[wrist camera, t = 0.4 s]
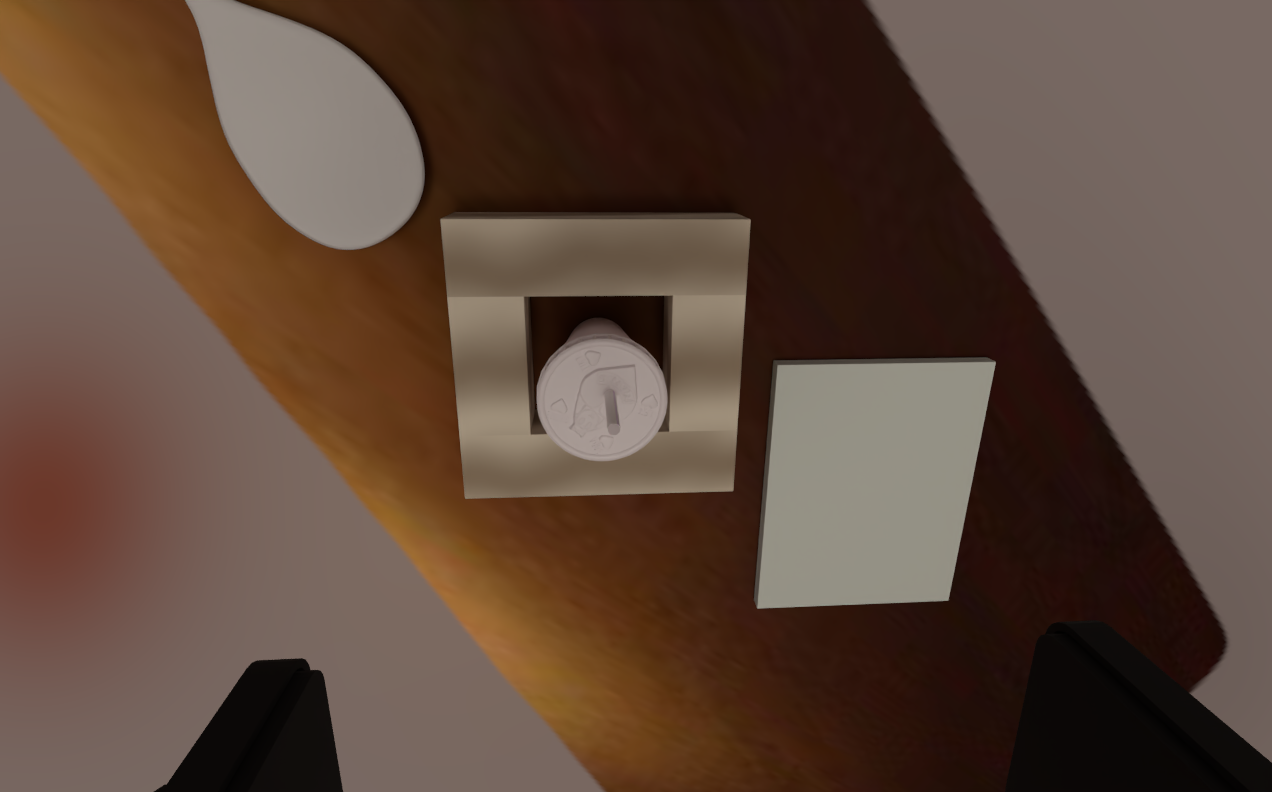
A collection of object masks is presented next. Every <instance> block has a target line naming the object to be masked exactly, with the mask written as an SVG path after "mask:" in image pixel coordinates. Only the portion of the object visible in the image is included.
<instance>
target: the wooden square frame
mask: <svg viewBox="0 0 1272 792" xmlns="http://www.w3.org/2000/svg"><path fill="white" fill-rule="evenodd" d="M440 220H441V232H442V243H443V254H444V266H445V277H446V288H447V299H448V311H449V322H450V333H451V345H452V356H453V367H454V379H455V390H456V401H457V413H458V424H459V435H460V447H461V458H462V469H463V480H464V492H465V499H470V498H506V497H541V496H576V495H611V494H647V493H682V492H717V491H733V486H734V471H735V455H736V440H737V424H738V409H739V393H740V378H741V362H742V347H743V331H744V316H745V300H746V285H747V270H748V254H749V239H750V223H751V219H748V218H746V217H744V216H741V215H739V214H737V213H651V212H454V213H452V214H450V215H448V216H446V217H444V218H442V219H440ZM530 296H664V329H663V374H664V379H665V384H666V389H667V409H666V414H665V417H664V420H663V423H662V425H661V427H660V429H659V430H658V432H657V433H656V435H655V436H654V437H653V438H652V440H651V441H650V442H649V443H648V444H646V445H645V446H644V447H643V448H641V449H640V450H638V451H637V452H635V453H633V454H631V455H629V456H627V457H624V458H621V459H617V460H611V461H592V460H586V459H582V458H579V457H576V456H574V455H572V454H570V453H568V452H566V451H565V450H563V449H562V448H560V447H559V446H558V445H557V444H556V443H555V442H554V441H553V440H552V439H551V438H550V437H549V436H548V434H547V433H546V431H545V429H544V428H543V426H542V423H541V421H540V418H539V415H538V410H537V409H535V397H534V375H533V353H532V332H531V310H530Z"/></svg>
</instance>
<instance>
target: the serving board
mask: <svg viewBox="0 0 1272 792" xmlns="http://www.w3.org/2000/svg"><path fill="white" fill-rule="evenodd" d="M995 364H996V362H995V361H993V360H991V359H989V358H987V357H977V358H907V359H837V360H773V371H772V384H771V396H770V408H769V421H768V433H767V445H766V457H765V470H764V482H763V494H762V507H761V519H760V531H759V543H758V556H757V568H756V580H755V593H754V601H755V604H756V606H757V608H780V607H804V606H828V605H853V604H877V603H901V602H925V601H948V599H949V594H950V589H951V584H952V579H953V574H954V569H955V564H956V559H957V554H958V549H959V544H960V539H961V534H962V529H963V524H964V519H965V514H966V509H967V504H968V499H969V494H970V489H971V484H972V479H973V474H974V469H975V464H976V459H977V454H978V449H979V444H980V439H981V434H982V429H983V424H984V419H985V414H986V409H987V404H988V399H989V394H990V389H991V384H992V379H993V374H994V369H995Z"/></svg>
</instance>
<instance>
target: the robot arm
mask: <svg viewBox="0 0 1272 792" xmlns="http://www.w3.org/2000/svg"><path fill="white" fill-rule="evenodd" d="M154 792H343V790H342V783H341V777H340V771H339V765H338V759H337V753H336V747H335V741H334V735H333V729H332V723H331V717H330V711H329V704H328V699H327V692H326V687H325V680H324V676H323V674H322V672H321V671H319V670H310V667H309V664H308V663H307V661H306V660H305V659H302V658H301V659H280V660H259V661H255V662H253V663H251V664H250V666H249V667H248V668H247V669H246V670H245V672H244V673H243V675H242V676H241V678H240V679H239V680H238V682H237V683H236V685H235V686H234V688H233V689H232V691H231V692H230V694H229V695H228V697H227V698H226V699H225V701H224V702H223V704H222V705H221V707H220V708H219V709H218V711H217V712H216V714H215V715H214V717H213V718H212V720H211V721H210V723H209V724H208V726H207V727H206V728H205V730H204V731H203V733H202V734H201V736H200V737H199V739H198V740H197V741H196V743H195V744H194V746H193V747H192V749H191V750H190V752H189V753H188V754H187V756H186V757H185V759H184V760H183V762H182V763H181V765H180V766H179V767H178V769H177V770H176V772H175V773H174V775H173V776H172V778H171V779H170V780H169V782H168V783H167V785H163V786H162V787H160V788H159V789H157V790H156V791H154ZM1005 792H1272V763H1271V762H1270V761H1269V760H1268V759H1267V758H1265V757H1264V756H1263V755H1262V754H1261V753H1259V752H1258V751H1257V750H1256V749H1255V748H1253V747H1252V746H1251V745H1250V744H1249V743H1247V742H1246V741H1245V740H1244V739H1243V738H1242V737H1240V736H1239V735H1238V734H1237V733H1236V732H1235V731H1233V730H1232V729H1231V728H1230V727H1229V726H1227V725H1226V724H1225V723H1224V722H1223V721H1221V720H1220V719H1219V718H1218V717H1217V716H1215V715H1214V714H1213V713H1212V712H1211V711H1210V710H1208V709H1207V708H1206V707H1204V705H1202V704H1201V703H1200V702H1199V701H1198V700H1197V699H1195V698H1194V697H1193V696H1192V695H1191V694H1189V693H1188V692H1187V691H1186V690H1185V689H1184V688H1182V687H1181V686H1180V685H1179V684H1178V683H1176V682H1175V681H1174V680H1173V679H1172V678H1170V677H1169V676H1168V675H1167V674H1166V673H1165V672H1163V671H1162V670H1161V669H1160V668H1159V667H1157V666H1156V665H1155V664H1154V663H1153V662H1151V661H1150V660H1149V659H1148V658H1147V657H1146V656H1144V655H1143V654H1142V653H1141V652H1140V651H1138V650H1137V649H1136V648H1135V647H1134V646H1132V645H1131V644H1130V643H1129V642H1128V641H1127V640H1125V639H1124V638H1123V637H1122V636H1121V635H1119V634H1118V633H1117V632H1116V631H1115V630H1113V629H1112V628H1111V627H1110V626H1108V625H1107V624H1105V623H1103V622H1100V621H1096V620H1094V621H1073V622H1057V623H1053V624H1051V625H1050V626H1049V628H1048V629H1047V631H1046V634H1045V635H1041V636H1040V637H1039V638H1038V640H1037V643H1036V647H1035V651H1034V656H1033V661H1032V665H1031V670H1030V675H1029V680H1028V684H1027V689H1026V694H1025V698H1024V703H1023V708H1022V713H1021V717H1020V722H1019V727H1018V731H1017V736H1016V741H1015V746H1014V750H1013V755H1012V760H1011V764H1010V769H1009V774H1008V779H1007V783H1006V791H1005Z"/></svg>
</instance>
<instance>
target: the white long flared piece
mask: <svg viewBox="0 0 1272 792" xmlns="http://www.w3.org/2000/svg"><path fill="white" fill-rule="evenodd" d="M185 1H186V3H187V5H188V6H189V8H190V10H191V12H192V14H193V16H194V18H195V21H196V24H197V26H198V29H199V32H200V36H201V39H202V43H203V47H204V52H205V57H206V62H207V67H208V72H209V77H210V82H211V87H212V92H213V96H214V100H215V105H216V109H217V113H218V116H219V120H220V123H221V126H222V129H223V132H224V134H225V137H226V139H227V141H228V144H229V146H230V148H231V150H232V152H233V153H234V155H235V157H236V159H237V160H238V162H239V164H240V165H241V167H242V169H243V170H244V172H245V173H246V175H247V176H248V178H249V179H250V181H251V182H252V184H253V185H254V186H255V188H256V189H257V191H258V192H259V193H260V195H261V196H262V197H263V199H264V200H265V201H266V202H267V204H268V205H269V206H270V207H271V208H272V209H273V210H274V211H275V212H276V213H277V214H278V215H279V216H280V217H281V218H282V219H283V220H284V221H285V222H286V223H287V224H289V225H290V226H291V227H293V228H294V229H295V230H297V231H298V232H300V233H301V234H303V235H304V236H306V237H308V238H310V239H311V240H313V241H315V242H317V243H320V244H322V245H325V246H327V247H331V248H335V249H341V250H355V249H362V248H366V247H370V246H372V245H375V244H377V243H379V242H381V241H383V240H385V239H387V238H388V237H390V236H391V235H393V234H394V233H395V232H396V231H398V230H399V229H400V228H401V227H402V226H403V225H404V224H405V223H406V222H407V221H408V220H409V218H410V217H411V216H412V215H413V213H414V211H415V210H416V208H417V206H418V204H419V201H420V199H421V196H422V193H423V188H424V180H425V169H424V160H423V155H422V150H421V146H420V143H419V139H418V136H417V134H416V131H415V128H414V126H413V124H412V122H411V119H410V117H409V116H408V114H407V112H406V110H405V109H404V107H403V106H402V104H401V103H400V101H399V100H398V98H397V97H396V96H395V94H394V93H393V92H392V90H391V89H390V88H389V87H388V86H387V84H386V83H385V82H384V81H383V80H382V79H381V78H380V77H379V76H378V74H377V73H376V72H375V71H374V70H373V69H372V68H371V67H370V66H369V65H368V64H367V63H365V62H364V61H363V60H362V59H361V58H360V57H359V56H358V55H356V54H355V53H354V52H353V51H351V50H350V49H349V48H347V47H346V46H344V45H343V44H341V43H340V42H338V41H336V40H335V39H333V38H331V37H329V36H327V35H325V34H324V33H321V32H319V31H317V30H315V29H313V28H310V27H308V26H305V25H303V24H300V23H298V22H295V21H292V20H290V19H287V18H284V17H281V16H279V15H276V14H273V13H270V12H267V11H264V10H261V9H258V8H255V7H252V6H249V5H246V4H243V3H240V2H238V1H235V0H185Z"/></svg>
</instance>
